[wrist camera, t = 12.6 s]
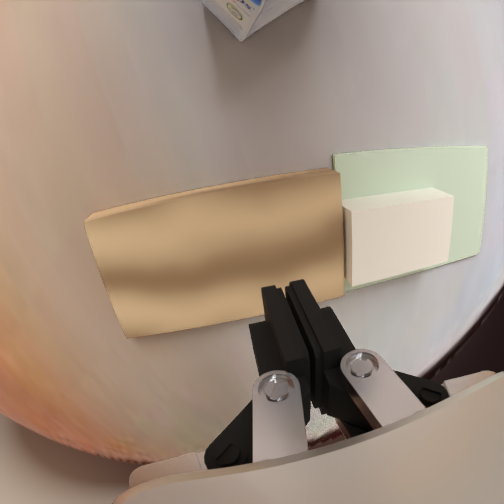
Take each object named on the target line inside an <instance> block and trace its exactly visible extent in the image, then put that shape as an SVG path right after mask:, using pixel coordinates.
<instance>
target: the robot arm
mask: <svg viewBox="0 0 504 504" xmlns="http://www.w3.org/2000/svg"><path fill="white" fill-rule="evenodd" d="M261 293H262V300H263V307H264V314H265V320H266V321H263V322H258V323H253V324H249V329H250V334H251V340H252V345H253V349H254V354H255V359H256V363H257V367H258V372H259V376H260V377H259V378H258V379H257V380H256V381H255V383H254V386H253V399H252V400H251V401H250V403H249V404H248V405H247V406H246V407H245V408H244V409H243V410H242V411H241V412H240V414H239V415H238V416H237V417H236V418H235V419H234V420H233V421H232V422H231V423H230V424H229V425H228V426H227V428H226V429H225V430H224V431H223V432H222V433H221V434H220V435H219V436H218V437H217V438H216V439H215V440H214V441H213V442H212V443H211V444H210V445H209V447H208V448H207V449H206V450H205V451H202V452H199V453H195V451H194V452H190V453H187V454H184V455H180V456H177V457H173V458H170V459H166V460H163V461H159V462H155V463H151V464H147V465H143V466H141V467H138V468H136V469H135V470H134V471H133V472H132V474H131V476H130V478H129V486H130V489H129V490H127V491H125V492H123V493H122V494H120V495H119V496H118V497H117V498H116V499H115V500H114V501H113V503H112V504H504V371H503V372H500V373H497V374H496V373H494V372H491V371H482V372H478V373H475V374H471V375H467V376H463V377H459V378H455V379H451V380H447V381H444V384H439V383H437V382H435V381H431V380H427V379H423V378H419V377H416V376H412V375H408V374H405V373H401V372H398V371H394V370H392V369H391V368H390V367H389V365H388V364H387V363H386V362H385V361H384V360H383V359H382V358H381V356H379V355H378V354H377V353H376V352H373V351H371V350H367V349H357V350H356V349H355V347H354V346H353V344H352V342H351V340H350V339H349V337H348V335H347V334H346V332H345V330H344V328H343V327H342V325H341V323H340V322H339V320H338V318H337V317H336V315H335V313H334V312H333V310H332V309H331V307H325V308H321V309H320V307H319V306H318V304H317V302H316V300H315V298H314V297H313V295H312V293H311V291H310V289H309V288H308V286H307V284H306V282H305V280H304V279H300V280H296V281H291V282H289V286H285V295H284V293H283V290H282V288H281V287H280V288H276V286H275V285H272V286H267V287H262V288H261ZM285 296H286V298H285ZM311 401H312V404H313V407H314V408H318V407H319V409H320V411H321V414H322V415H323V414H326V413H327V415H329V416H332V417H334V418H335V420H336V423H337V425H338V426H339V428H340V430H341V431H342V433H343V434H344V436H345V437H346V440H343V441H340V442H337V443H333V444H330V445H327V446H324V447H320V448H316V449H312V450H309V451H308V445H307V437H306V429H305V426H306V425H307V423H308V422H309V421H310V409H311Z"/></svg>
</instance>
